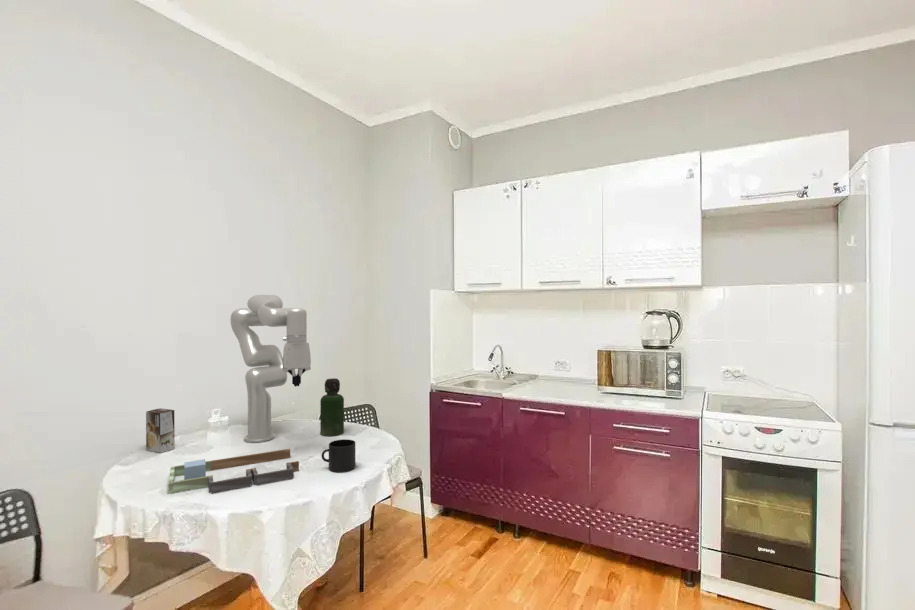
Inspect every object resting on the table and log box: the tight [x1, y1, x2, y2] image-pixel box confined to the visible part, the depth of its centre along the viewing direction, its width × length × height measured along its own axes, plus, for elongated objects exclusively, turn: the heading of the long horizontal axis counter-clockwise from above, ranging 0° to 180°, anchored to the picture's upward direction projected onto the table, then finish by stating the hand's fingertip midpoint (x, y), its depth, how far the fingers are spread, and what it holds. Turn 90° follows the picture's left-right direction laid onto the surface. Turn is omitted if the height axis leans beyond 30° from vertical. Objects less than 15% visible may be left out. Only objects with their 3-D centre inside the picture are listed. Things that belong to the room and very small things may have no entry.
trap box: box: [167, 448, 300, 495], centre depth 156 cm, size 24×39×3 cm, turn 120°
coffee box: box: [145, 408, 176, 454], centre depth 186 cm, size 9×6×16 cm
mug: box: [321, 439, 356, 473], centre depth 164 cm, size 9×12×9 cm
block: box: [183, 459, 207, 480], centre depth 152 cm, size 6×6×6 cm
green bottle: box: [319, 377, 345, 437], centre depth 209 cm, size 10×10×25 cm
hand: (296, 385), depth 180 cm, fingers closed
